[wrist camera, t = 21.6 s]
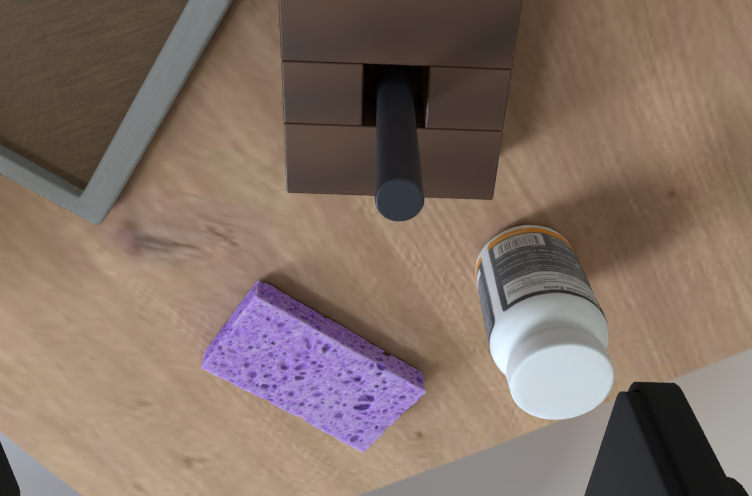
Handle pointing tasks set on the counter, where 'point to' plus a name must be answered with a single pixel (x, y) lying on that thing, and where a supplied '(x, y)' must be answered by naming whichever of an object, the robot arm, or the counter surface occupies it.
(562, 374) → the pill bottle
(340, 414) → the sponge
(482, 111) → the dock
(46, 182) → the grey-rimmed serving tray
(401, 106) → the peg
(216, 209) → the counter surface
